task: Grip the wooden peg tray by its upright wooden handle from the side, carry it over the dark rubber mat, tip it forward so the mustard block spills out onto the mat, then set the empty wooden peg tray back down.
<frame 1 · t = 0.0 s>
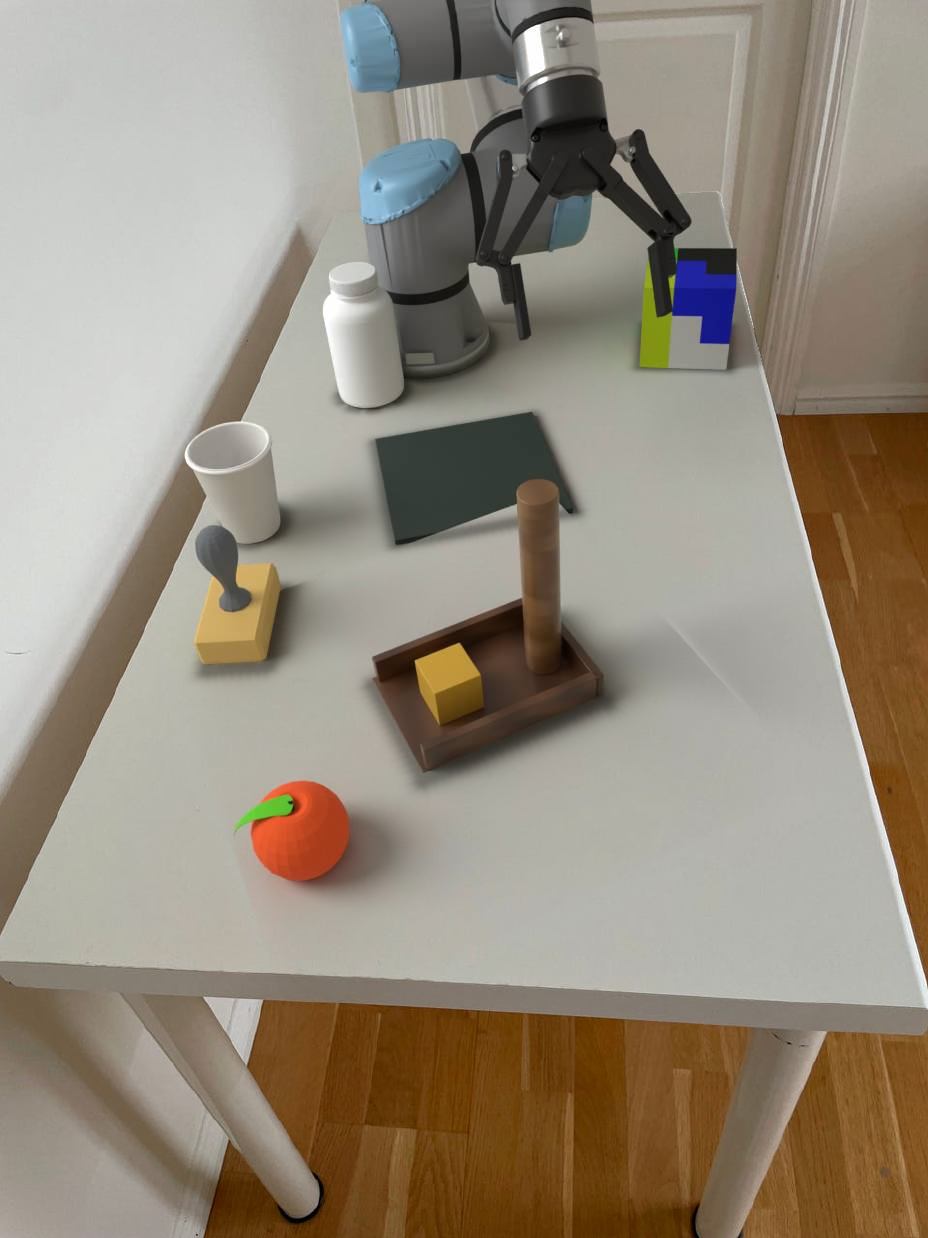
hand: (595, 326, 89), 15 cm above the table, tool tilted 35°, fingers open, 13 cm apart
mat: (468, 475, 100), on the table
dixie cup: (253, 527, 97), on the table
wooden peg tray: (485, 694, 78), on the table, touching block
rubber stamp: (245, 630, 86), on the table
block: (452, 699, 77), point 1 cm above the table, touching wooden peg tray
puzzle toy: (684, 348, 114), on the table
clementine: (303, 858, 69), on the table
pill bottle: (372, 393, 113), on the table
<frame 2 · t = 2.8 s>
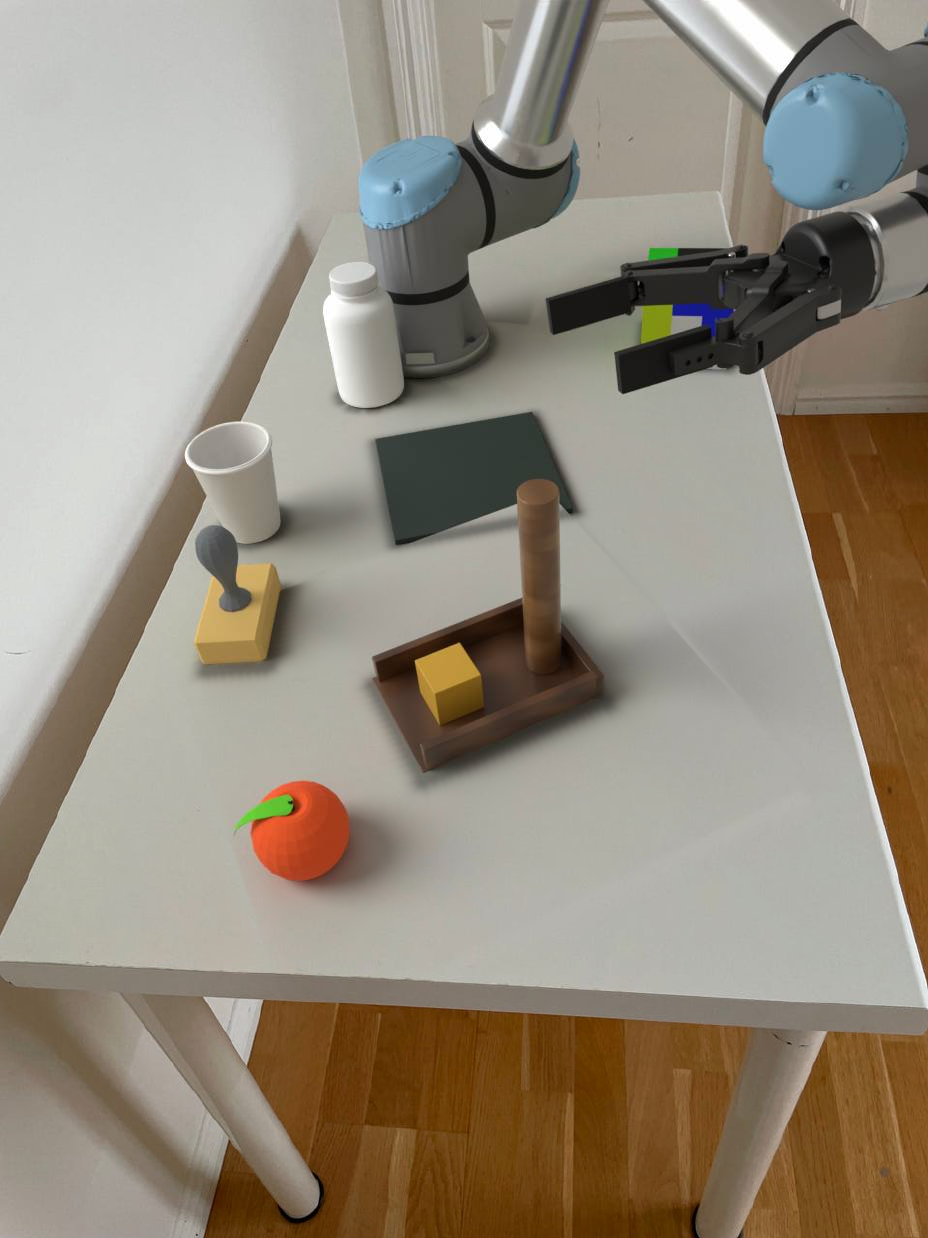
hand: (580, 342, 67), 26 cm above the table, tool horizontal, fingers open, 13 cm apart
nothing on the table moved.
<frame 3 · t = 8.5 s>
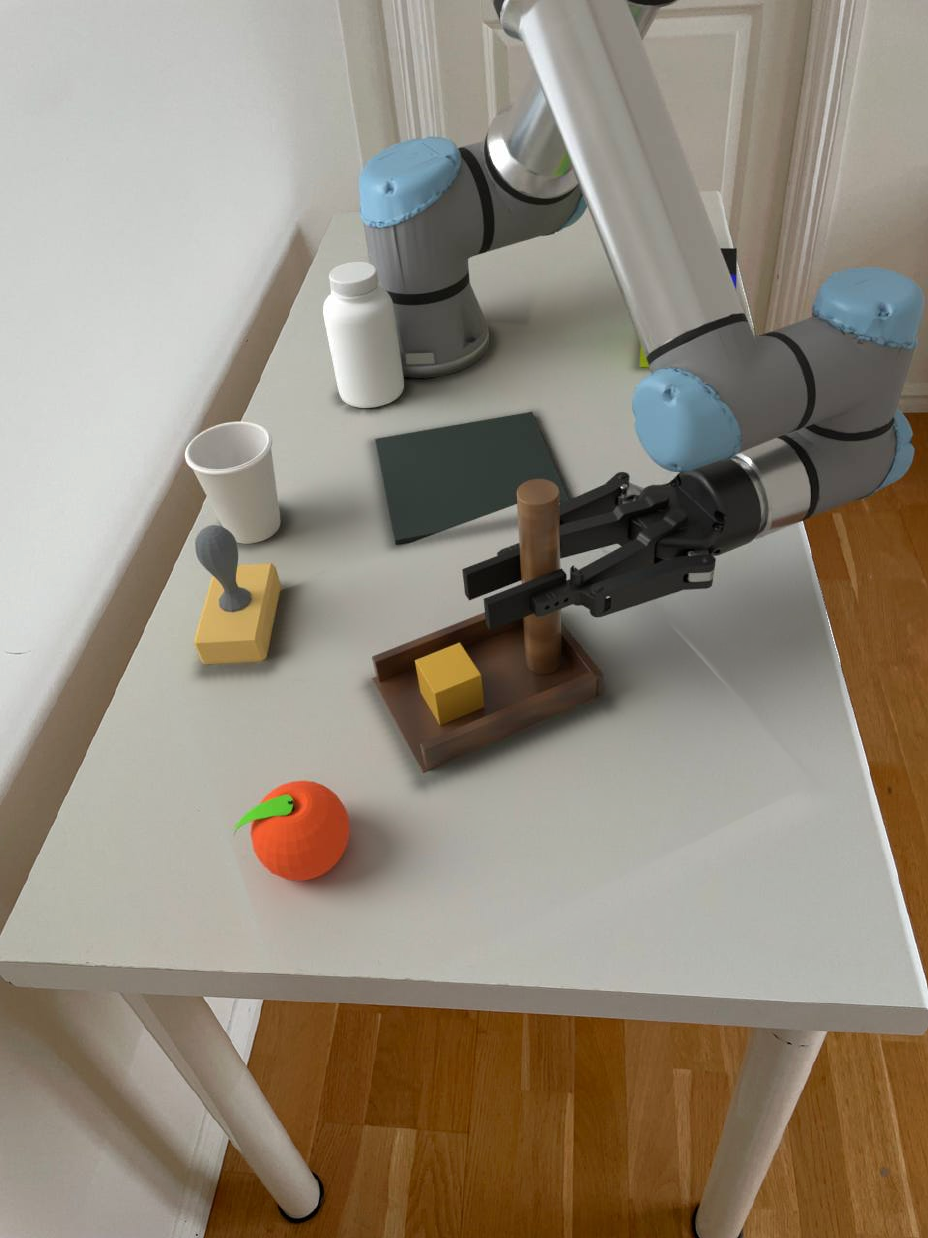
hand: (476, 599, 70), 11 cm above the table, tool horizontal, fingers closed on wooden peg tray, 3 cm apart
wooden peg tray: (485, 693, 78), on the table, touching block, gripper
everything else where it was.
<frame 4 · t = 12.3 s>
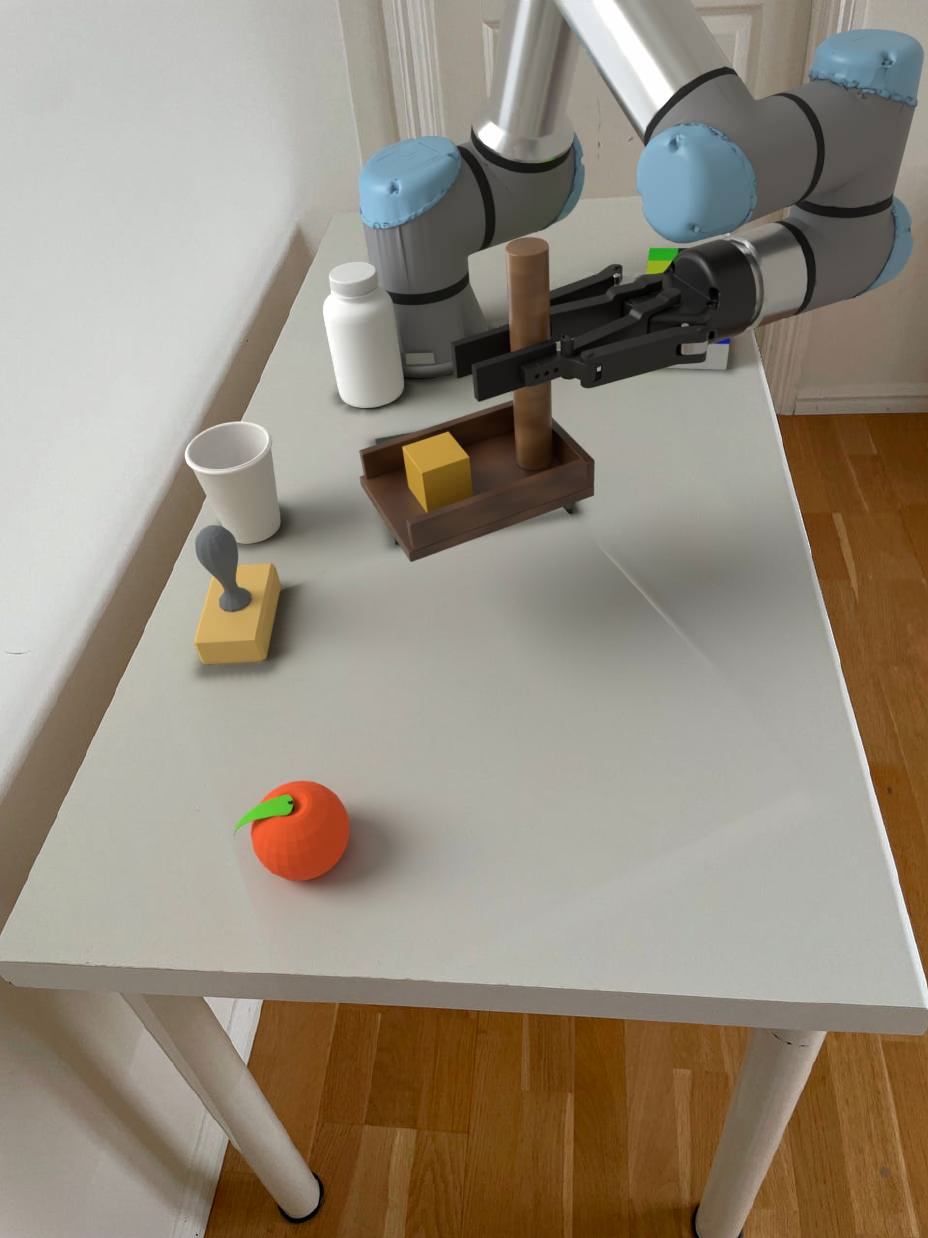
hand: (465, 371, 69), 24 cm above the table, tool horizontal, fingers closed on wooden peg tray, 3 cm apart
wooden peg tray: (475, 490, 77), point 13 cm above the table, touching block, gripper
block: (440, 492, 75), point 14 cm above the table, touching wooden peg tray
everything else where it was.
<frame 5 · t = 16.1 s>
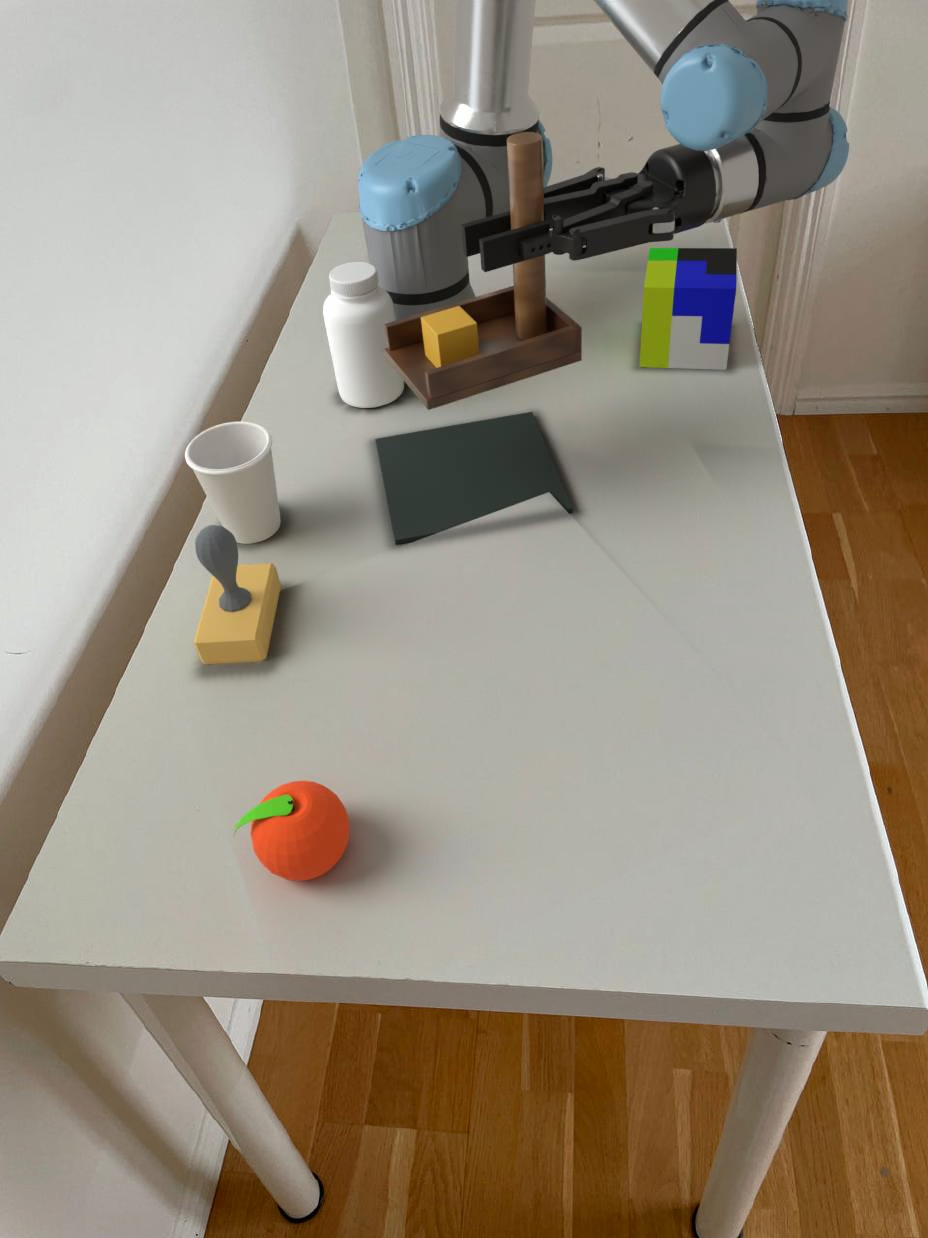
hand: (473, 248, 83), 24 cm above the table, tool horizontal, fingers closed on wooden peg tray, 3 cm apart
wooden peg tray: (481, 359, 91), point 13 cm above the table, touching block, gripper
block: (452, 358, 90), point 14 cm above the table, touching wooden peg tray
everything else where it was.
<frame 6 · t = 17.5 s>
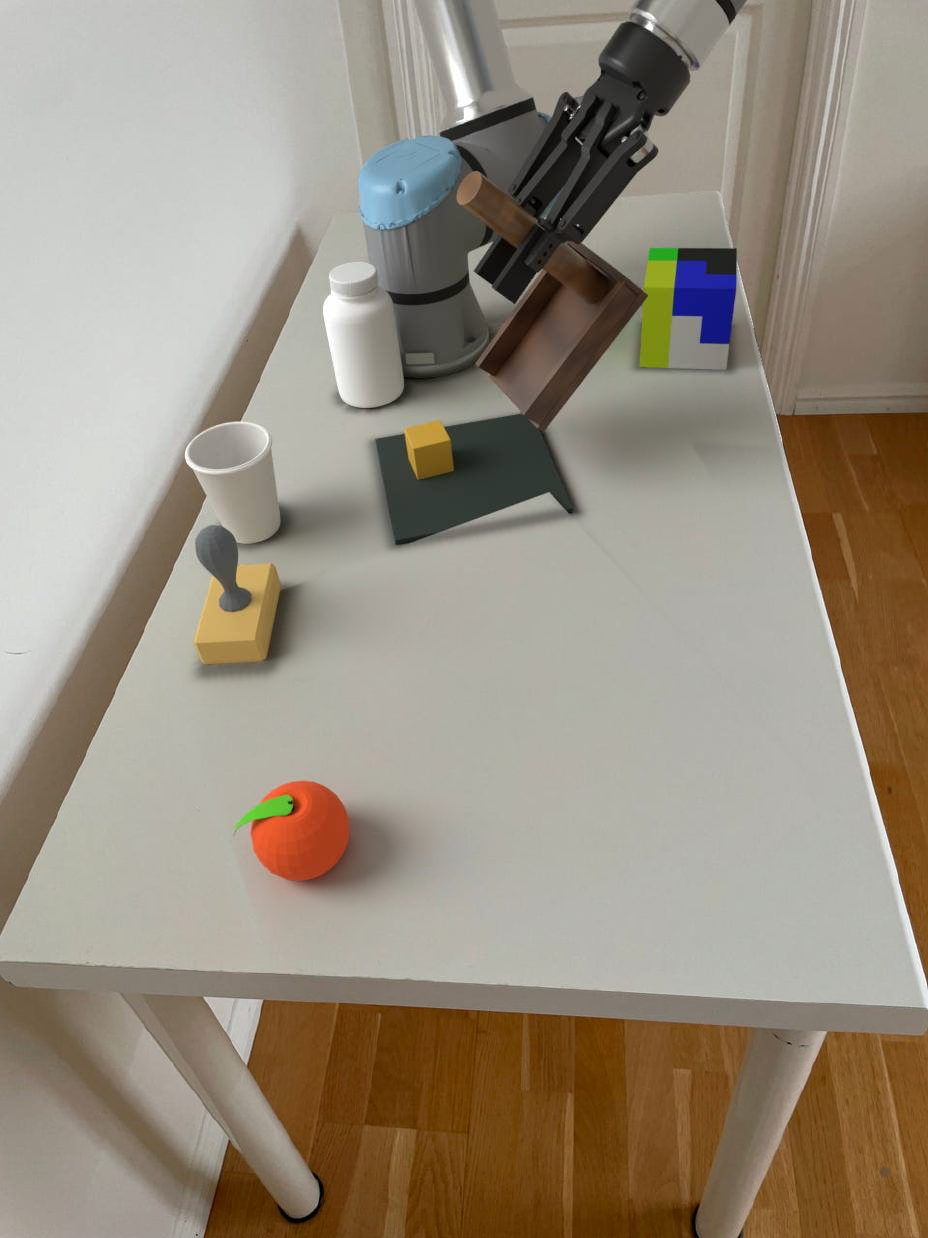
hand: (494, 286, 87), 20 cm above the table, tool tilted 45°, fingers closed on wooden peg tray, 3 cm apart
wooden peg tray: (566, 340, 94), point 12 cm above the table, tilted 45°, touching gripper
block: (447, 445, 99), point 3 cm above the table, tilted 90°, touching mat
everything else where it was.
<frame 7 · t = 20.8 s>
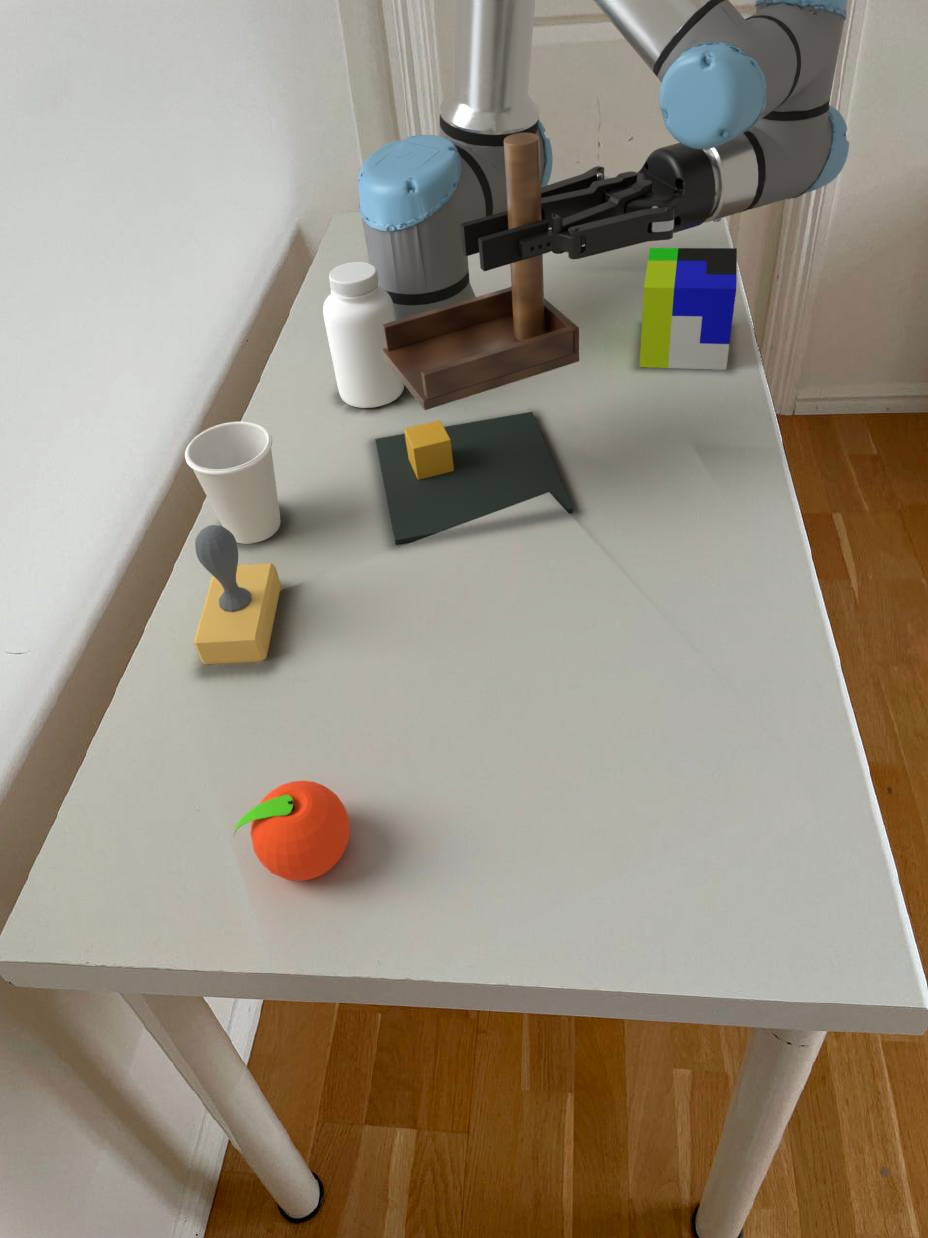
hand: (472, 247, 83), 24 cm above the table, tool horizontal, fingers closed on wooden peg tray, 3 cm apart
wooden peg tray: (479, 359, 91), point 13 cm above the table, touching gripper
everything else where it was.
when the fingers open (11 cm above the table, at t = 29.8 s): wooden peg tray stays where it is, on the table.
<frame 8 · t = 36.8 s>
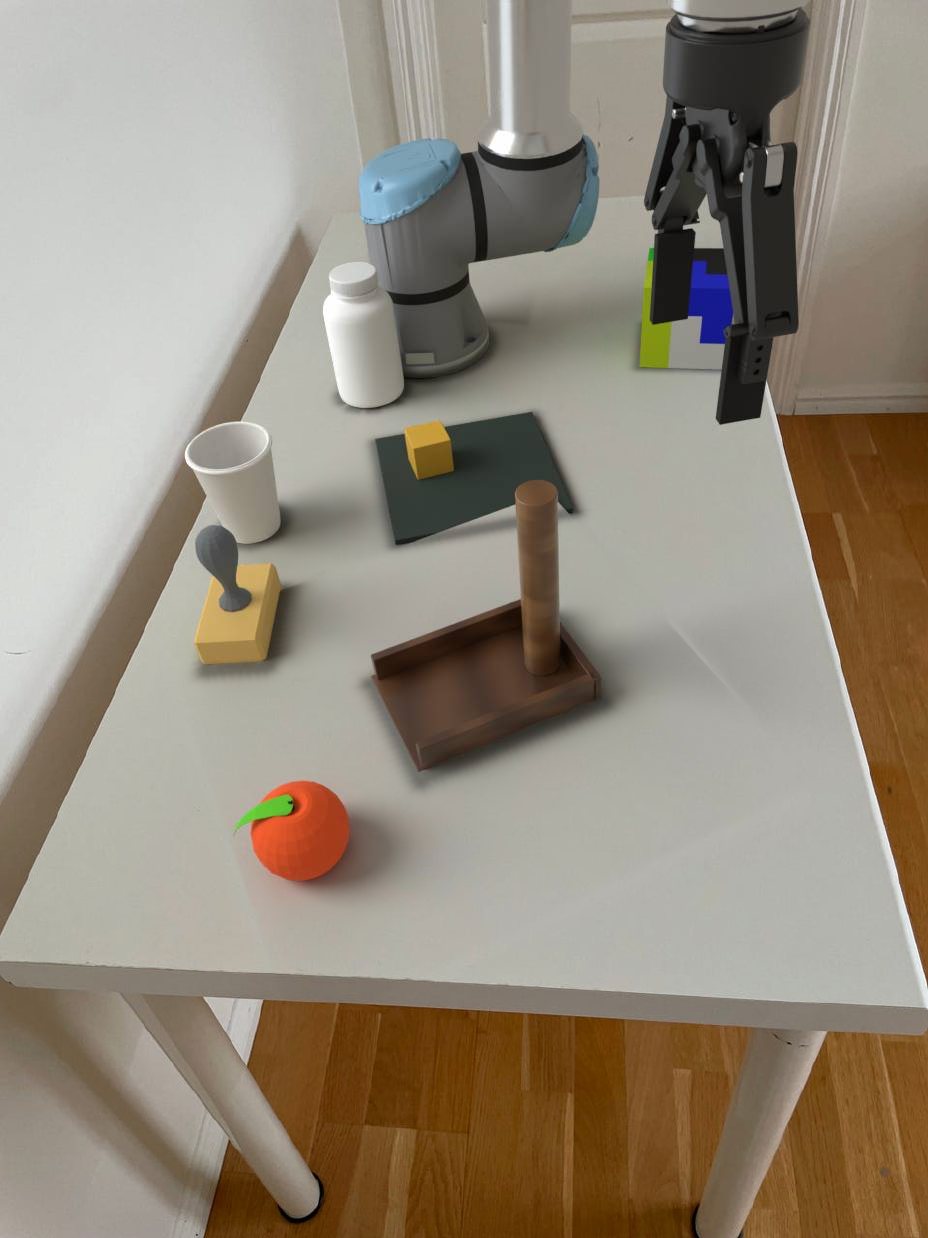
hand: (700, 365, 65), 25 cm above the table, tool pointing down, fingers open, 13 cm apart
wooden peg tray: (483, 694, 78), on the table
everything else where it was.
at the end: block inside the target area on the mat (2.9 cm from its centre), point 2.6 cm above the mat's base; block touching mat; wooden peg tray tilted 0° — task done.
